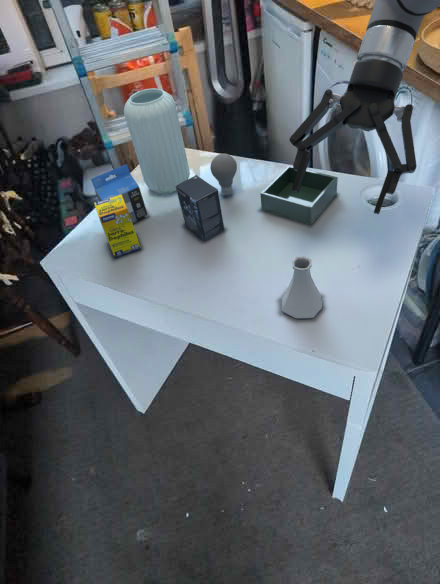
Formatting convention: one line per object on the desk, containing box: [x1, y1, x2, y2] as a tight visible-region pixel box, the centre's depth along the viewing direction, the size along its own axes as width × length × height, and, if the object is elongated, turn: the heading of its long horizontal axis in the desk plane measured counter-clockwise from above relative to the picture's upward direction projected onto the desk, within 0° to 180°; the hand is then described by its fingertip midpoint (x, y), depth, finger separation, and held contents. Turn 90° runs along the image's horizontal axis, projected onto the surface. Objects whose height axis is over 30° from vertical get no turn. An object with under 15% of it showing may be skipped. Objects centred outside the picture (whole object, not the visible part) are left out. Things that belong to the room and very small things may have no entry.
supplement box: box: [93, 194, 142, 259], centre depth 90 cm, size 6×6×11 cm
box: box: [176, 174, 225, 242], centre depth 91 cm, size 8×6×11 cm
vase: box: [123, 87, 191, 194], centre depth 101 cm, size 12×12×22 cm
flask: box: [281, 256, 323, 319], centre depth 73 cm, size 7×7×10 cm
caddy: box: [259, 165, 339, 226], centre depth 95 cm, size 12×12×4 cm
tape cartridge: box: [90, 163, 149, 224], centre depth 96 cm, size 9×4×12 cm, turn 123°
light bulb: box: [210, 153, 238, 196], centre depth 100 cm, size 6×6×10 cm
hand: (334, 202), depth 71 cm, fingers open, 13 cm apart
